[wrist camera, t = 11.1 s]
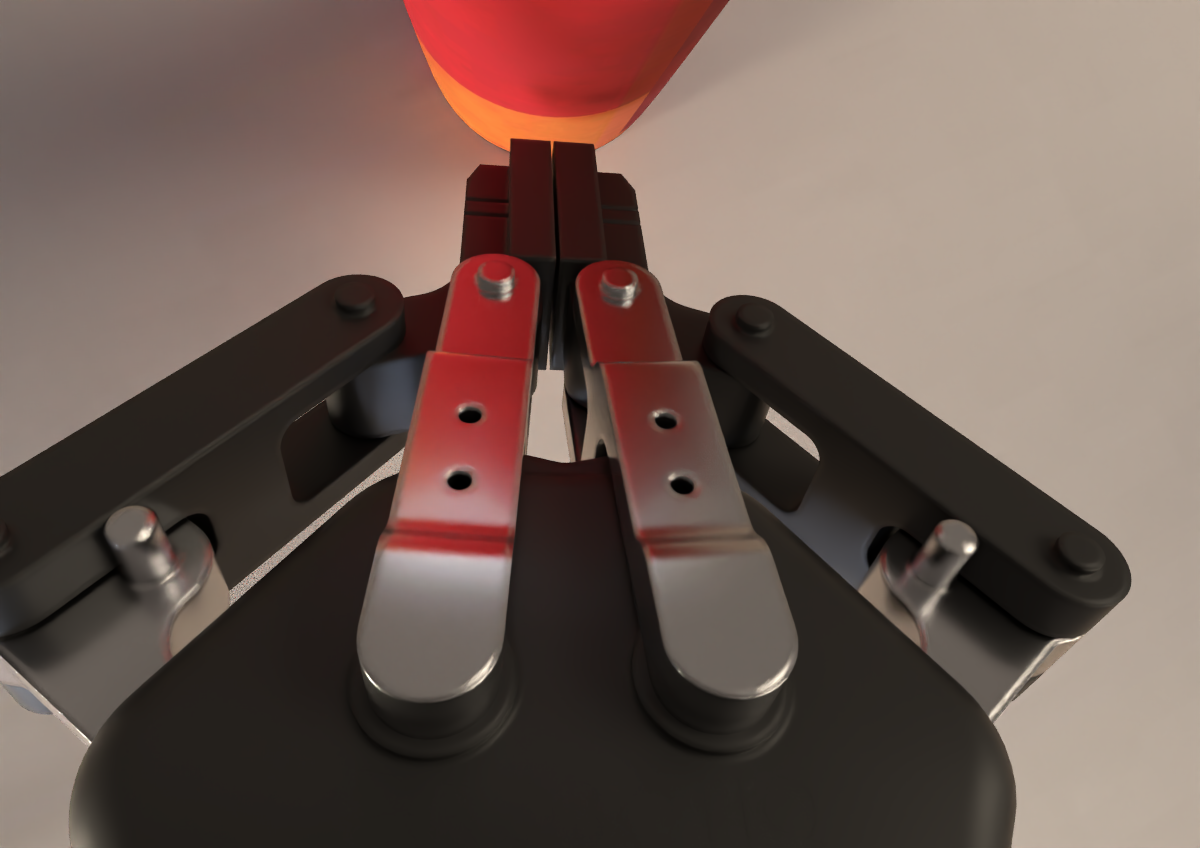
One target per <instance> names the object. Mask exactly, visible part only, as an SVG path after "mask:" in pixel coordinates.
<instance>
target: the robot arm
mask: <svg viewBox="0 0 1200 848" xmlns="http://www.w3.org/2000/svg"><path fill="white" fill-rule="evenodd" d="M548 343H549V354H550V370H564V389H563V398H562V410H563V417H564V424H565V430H566V437H567V444H568V451H569V457H570V463H560V462H555V461H550V460H546V459H542V458H537V457H533V456H528V455H527V446H528V435H529V425H530V414H531V403H532V395H533V393H534V392H535V389H536V386H537V375H538V370H546V366H547V354H548ZM324 399H325V400H324ZM323 400H324V401H323ZM321 401H323V402H321ZM320 402H321V403H320ZM319 403H320V404H319ZM317 404H318V405H317ZM316 405H317V406H316ZM314 406H316V407H314ZM313 407H314V408H313ZM769 407H771V408H773V409H774V410H775V411H776V412H778V413H779V414H780V415H781V416H783V417H784V418H785V419H787V420H788V421H789V422H790V423H792V424H793V425H794V426H796V427H797V428H798V429H799V430H801V431H802V432H803V433H805V434H806V435H807V436H808V437H809V438H810V439H811V440H812V441H813V443H814V444H815V446H816V447H817V450H818V452H819V457H820V461H818V460H817V459H816V458H815V457H813V456H812V455H811V454H810V453H808V452H807V451H806V450H804V449H803V448H802V447H801V446H799V445H798V444H797V443H796V442H794V441H793V440H792V439H791V438H789V437H788V436H787V435H786V434H784V433H783V432H782V431H781V430H779V429H778V428H777V427H775V426H774V425H773V424H772V423H770V422H769V421H768V420H767V419H765V418H766V415H767V413H768V410H769ZM312 408H313V409H312ZM310 409H311V410H310ZM309 410H310V411H309ZM307 411H309V412H307ZM306 412H307V413H306ZM305 413H306V414H305ZM303 414H304V415H303ZM302 415H303V416H302ZM300 416H302V417H300ZM299 417H300V418H299ZM298 418H299V419H298ZM296 419H297V420H296ZM295 420H296V421H295ZM404 447H405V449H404V454H403V458H402V463H401V467H400V471H399V473H397V474H395V475H392V476H390V477H387V478H385V479H383V480H381V481H379V482H377V483H375V484H373V485H371V486H370V487H368V488H366V489H365V490H363V491H362V492H361V493H359V494H358V495H356V496H355V497H354V498H352V499H351V500H350V501H349V502H348V503H346V504H345V505H344V506H343V507H342V508H341V509H340V510H338V511H337V512H336V513H335V514H334V515H333V516H332V517H331V518H329V519H328V520H327V521H326V522H325V523H324V524H323V525H322V526H320V527H319V528H318V529H317V530H316V531H315V532H314V533H313V534H311V535H310V536H309V537H308V538H307V539H306V540H305V541H303V542H302V543H301V544H300V545H299V546H298V547H297V548H296V549H294V550H293V551H292V552H291V553H290V554H289V555H288V556H287V557H285V558H284V559H283V560H282V561H281V562H280V563H279V564H278V565H276V566H275V567H274V568H273V569H272V570H271V571H270V572H268V573H267V574H266V575H265V576H264V577H263V578H262V579H261V580H259V581H258V582H257V583H256V584H255V585H254V586H253V587H252V588H250V589H249V590H248V591H247V592H246V593H245V594H244V595H242V596H241V597H240V598H239V599H238V600H237V601H236V602H235V603H233V604H232V605H231V606H230V593H229V591H230V590H231V589H232V588H233V587H234V586H236V585H237V584H238V583H239V582H241V581H242V580H243V579H244V578H245V577H247V576H248V575H249V574H250V573H252V572H253V571H254V570H255V569H256V568H258V567H259V566H260V565H261V564H262V563H264V562H265V561H266V560H267V559H269V558H270V557H271V556H272V555H273V554H275V553H276V552H277V551H278V550H280V549H281V548H282V547H283V546H284V545H286V544H287V543H288V542H289V541H291V540H292V539H293V538H294V537H295V536H297V535H298V534H299V533H300V532H302V531H303V530H304V529H305V528H306V527H308V526H309V525H310V524H311V523H312V522H314V521H315V520H316V519H317V518H319V517H320V516H321V515H322V514H323V513H325V512H326V511H327V510H328V509H330V508H331V507H332V506H333V505H334V504H336V503H337V502H338V501H339V500H341V499H342V498H343V497H344V496H345V495H347V494H348V493H349V492H350V491H352V490H353V489H354V488H355V487H356V486H358V485H359V484H360V483H361V482H362V481H364V480H365V479H366V478H367V477H369V476H370V475H371V474H372V473H373V472H375V471H376V470H377V469H378V468H380V467H381V466H382V465H383V464H384V463H386V462H387V461H388V460H389V459H391V458H392V457H393V456H394V455H395V454H397V453H398V452H399V451H400V450H401V449H403V448H404ZM1130 587H1131V573H1130V570H1129V567H1128V564H1127V562H1126V560H1125V558H1124V557H1123V555H1122V554H1121V552H1120V551H1119V550H1118V548H1117V547H1116V546H1115V545H1114V544H1113V543H1112V542H1111V541H1110V540H1109V539H1108V538H1107V537H1106V536H1105V535H1103V534H1102V533H1101V532H1099V531H1098V530H1097V529H1095V528H1094V527H1092V526H1091V525H1090V524H1088V523H1087V522H1085V521H1084V520H1083V519H1081V518H1080V517H1078V516H1077V515H1075V514H1074V513H1073V512H1071V511H1070V510H1068V509H1067V508H1065V507H1064V506H1063V505H1061V504H1060V503H1058V502H1057V501H1056V500H1054V499H1053V498H1051V497H1050V496H1048V495H1047V494H1046V493H1044V492H1043V491H1041V490H1040V489H1039V488H1037V487H1036V486H1034V485H1033V484H1031V483H1030V482H1029V481H1027V480H1026V479H1024V478H1023V477H1021V476H1020V475H1019V474H1017V473H1016V472H1014V471H1013V470H1012V469H1010V468H1009V467H1007V466H1006V465H1004V464H1003V463H1002V462H1000V461H999V460H997V459H996V458H994V457H993V456H992V455H990V454H989V453H987V452H986V451H985V450H983V449H982V448H980V447H979V446H977V445H976V444H975V443H973V442H972V441H970V440H969V439H968V438H966V437H965V436H963V435H962V434H960V433H959V432H958V431H956V430H955V429H953V428H952V427H950V426H949V425H948V424H946V423H945V422H943V421H942V420H941V419H939V418H938V417H936V416H935V415H933V414H932V413H931V412H929V411H928V410H926V409H925V408H923V407H922V406H921V405H919V404H918V403H916V402H915V401H914V400H912V399H911V398H909V397H908V396H906V395H905V394H904V393H902V392H901V391H899V390H898V389H897V388H895V387H894V386H892V385H891V384H889V383H888V382H887V381H885V380H884V379H882V378H881V377H879V376H878V375H877V374H875V373H874V372H872V371H871V370H870V369H868V368H867V367H865V366H864V365H862V364H861V363H860V362H858V361H857V360H855V359H854V358H853V357H851V356H850V355H848V354H847V353H845V352H844V351H843V350H841V349H840V348H838V347H837V346H835V345H834V344H833V343H831V342H830V341H828V340H827V339H826V338H824V337H823V336H821V335H820V334H818V333H817V332H816V331H814V330H813V329H811V328H810V327H808V326H807V325H806V324H804V323H803V322H801V321H800V320H799V319H797V318H796V317H794V316H793V315H791V314H790V313H789V312H787V311H786V310H784V309H783V308H782V307H780V306H778V305H777V304H775V303H773V302H771V301H769V300H766V299H763V298H760V297H756V296H749V295H736V296H730V297H726V298H724V299H721V300H720V301H718V302H717V303H716V304H715V305H714V306H713V307H712V309H711V311H710V313H707V312H703V311H699V310H696V309H692V308H689V307H686V306H683V305H680V304H678V303H675V302H673V301H672V300H670V299H668V298H667V297H665V296H664V295H663V291H662V288H661V285H660V283H659V281H658V280H657V278H656V277H655V276H654V275H653V274H652V273H651V272H649V271H648V266H647V260H646V254H645V248H644V242H643V236H642V230H641V225H640V218H639V212H638V206H637V200H636V193H635V190H634V189H633V187H632V186H631V185H630V184H629V183H628V181H627V180H626V179H625V178H624V177H623V176H622V174H616V173H601V172H597V165H596V156H595V147H594V144H588V143H574V142H560V141H554V143H553V150H552V157H551V141H545V140H531V139H517V138H511V139H510V164H509V166H496V165H481V164H480V165H479V166H478V167H477V169H476V170H475V171H474V172H473V173H472V174H471V175H470V177H469V178H468V179H467V185H466V197H465V209H464V221H463V233H462V245H461V257H460V264H459V265H458V266H457V267H456V268H455V270H454V271H453V274H452V277H451V281H450V282H449V283H448V284H446V285H445V286H443V287H442V288H439V289H437V290H435V291H432V292H429V293H426V294H421V295H416V296H410V297H405V298H403V296H402V294H401V292H400V290H399V289H398V288H397V287H396V286H395V285H393V284H392V283H390V282H389V281H387V280H384V279H382V278H379V277H375V276H370V275H361V274H360V275H346V276H341V277H337V278H334V279H331V280H328V281H326V282H325V283H323V284H321V285H319V286H318V287H316V288H314V289H313V290H311V291H309V292H308V293H306V294H304V295H303V296H301V297H299V298H298V299H296V300H294V301H293V302H291V303H289V304H288V305H286V306H284V307H283V308H281V309H279V310H278V311H276V312H274V313H273V314H271V315H269V316H268V317H266V318H264V319H263V320H261V321H259V322H258V323H256V324H254V325H253V326H251V327H249V328H248V329H246V330H244V331H243V332H241V333H239V334H238V335H236V336H234V337H233V338H231V339H229V340H228V341H226V342H224V343H223V344H221V345H219V346H218V347H216V348H214V349H213V350H211V351H209V352H208V353H206V354H204V355H203V356H201V357H199V358H198V359H196V360H194V361H193V362H191V363H189V364H188V365H186V366H184V367H183V368H181V369H179V370H178V371H176V372H175V373H173V374H171V375H170V376H168V377H166V378H165V379H163V380H161V381H160V382H158V383H156V384H155V385H153V386H151V387H150V388H148V389H146V390H145V391H143V392H141V393H140V394H138V395H136V396H135V397H133V398H131V399H130V400H128V401H126V402H125V403H123V404H121V405H120V406H118V407H116V408H115V409H113V410H111V411H110V412H108V413H106V414H105V415H103V416H101V417H100V418H98V419H96V420H95V421H93V422H91V423H90V424H88V425H86V426H85V427H83V428H81V429H80V430H78V431H76V432H75V433H73V434H71V435H70V436H68V437H66V438H65V439H63V440H61V441H60V442H58V443H56V444H55V445H53V446H51V447H50V448H48V449H46V450H45V451H43V452H41V453H40V454H38V455H36V456H35V457H33V458H31V459H30V460H28V461H26V462H25V463H23V464H21V465H20V466H18V467H16V468H15V469H13V470H11V471H10V472H8V473H6V474H5V475H3V476H1V477H0V684H1V685H2V686H3V687H4V688H5V689H6V691H7V692H8V693H9V694H10V695H11V696H12V697H13V698H14V699H15V701H16V702H17V703H19V704H20V705H21V706H22V707H23V708H25V709H27V710H29V711H31V712H34V713H39V714H54V715H55V716H56V717H57V718H58V719H59V720H60V721H61V722H62V723H63V724H64V725H65V726H66V727H67V728H69V729H70V730H71V731H72V732H73V733H74V734H75V735H76V736H77V737H78V738H79V739H80V740H81V741H82V742H83V743H84V744H85V745H86V746H87V747H88V750H87V752H86V754H85V756H84V758H83V760H82V763H81V765H80V767H79V770H78V773H77V776H76V779H75V783H74V787H73V791H72V795H71V801H70V810H69V836H70V843H71V848H1011V844H1012V836H1013V829H1014V822H1015V814H1016V786H1015V780H1014V775H1013V770H1012V765H1011V762H1010V760H1009V757H1008V754H1007V751H1006V748H1005V745H1004V743H1003V741H1002V739H1001V737H1000V735H999V733H998V731H997V729H996V728H995V726H994V724H993V723H994V721H995V720H996V719H997V718H998V717H999V715H1000V714H1001V713H1002V712H1003V710H1004V709H1005V708H1006V707H1007V706H1008V704H1009V703H1010V702H1011V701H1013V700H1015V699H1016V698H1017V697H1018V696H1019V695H1020V694H1022V693H1023V692H1024V691H1025V690H1026V689H1027V688H1028V687H1029V686H1030V685H1031V684H1032V683H1033V682H1034V681H1036V680H1037V679H1038V678H1039V677H1040V676H1041V675H1042V674H1043V673H1044V672H1045V671H1046V670H1047V669H1048V668H1050V667H1051V666H1052V665H1053V664H1054V663H1055V662H1056V661H1057V660H1058V659H1059V658H1060V657H1061V656H1062V655H1063V654H1065V653H1066V652H1067V651H1068V650H1069V649H1070V648H1071V647H1072V646H1073V645H1074V644H1075V643H1076V642H1077V641H1079V640H1080V639H1081V638H1082V637H1083V636H1084V635H1085V634H1086V633H1087V632H1088V631H1089V630H1090V629H1091V628H1093V627H1094V626H1095V625H1096V624H1097V623H1098V622H1099V621H1100V620H1101V619H1102V618H1103V617H1104V616H1105V615H1106V614H1108V613H1109V612H1110V611H1111V610H1112V609H1113V608H1114V607H1115V606H1116V605H1117V604H1118V603H1119V602H1120V601H1122V600H1123V599H1124V598H1125V596H1126V595H1127V594H1128V592H1129V590H1130Z"/></svg>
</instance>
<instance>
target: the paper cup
mask: <svg viewBox="0 0 1200 848" xmlns="http://www.w3.org/2000/svg"><path fill="white" fill-rule="evenodd" d="M403 1H404V4H405V7H406V9H407V12H408V14H409V17H410V19H411V22H412V25H413V27H414V30H415V32H416V35H417V38H418V40H419V43H420V45H421V48H422V50H423V52H424V55H425V57H426V59H427V62H428V64H429V67H430V69H431V71H432V74H433V76H434V78H435V80H436V82H437V84H438V86H439V87H440V89H441V91H442V93H443V95H444V96H445V98H446V100H447V101H448V103H449V104H450V106H451V107H452V108H453V110H454V111H455V112H456V113H457V114H458V116H459V117H460V118H461V119H462V120H463V121H464V122H465V123H466V124H467V125H468V126H469V127H470V128H471V129H473V130H474V131H475V132H476V133H478V134H479V135H480V136H482V137H483V138H484V139H486V140H488V141H489V142H491V143H493V144H494V145H496V146H498V147H500V148H503V149H505V150H507V151H510V139H511V138H517V139H531V140H545V141H551V157H552V150H553V143H554V141H560V142H574V143H588V144H594V147H595V149H597V148H599V147H601V146H603V145H605V144H607V143H609V142H610V141H612V140H613V139H615V138H616V137H618V136H619V135H620V134H622V133H623V132H624V131H625V130H626V129H627V128H628V127H629V126H630V125H631V124H632V123H633V122H634V121H635V120H636V119H637V118H638V117H639V116H640V115H641V114H642V113H643V112H644V110H645V109H646V108H647V107H648V106H649V104H650V103H651V102H652V101H653V100H654V98H655V97H656V96H657V95H658V94H659V92H660V91H661V90H662V88H663V87H664V86H665V85H666V83H667V82H668V81H669V79H670V78H671V77H672V76H673V74H674V73H675V72H676V70H677V69H678V68H679V66H680V65H681V64H682V63H683V61H684V60H685V59H686V57H687V56H688V55H689V53H690V52H691V51H692V49H693V48H694V47H695V45H696V44H697V43H698V41H699V40H700V39H701V37H702V36H703V35H704V33H705V32H706V31H707V29H708V28H709V27H710V25H711V24H712V23H713V21H714V20H715V19H716V17H717V16H718V15H719V13H720V12H721V11H722V9H723V8H724V7H725V5H726V4H727V3H728V1H729V0H403Z"/></svg>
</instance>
